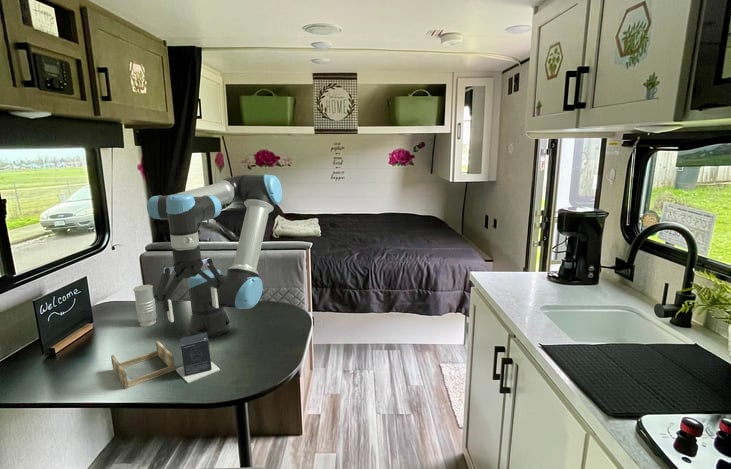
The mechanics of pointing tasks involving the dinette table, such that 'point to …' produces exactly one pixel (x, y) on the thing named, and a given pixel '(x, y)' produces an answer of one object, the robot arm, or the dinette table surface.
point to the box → (195, 354)
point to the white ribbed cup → (145, 305)
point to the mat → (198, 375)
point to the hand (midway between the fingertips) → (194, 313)
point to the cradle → (160, 352)
